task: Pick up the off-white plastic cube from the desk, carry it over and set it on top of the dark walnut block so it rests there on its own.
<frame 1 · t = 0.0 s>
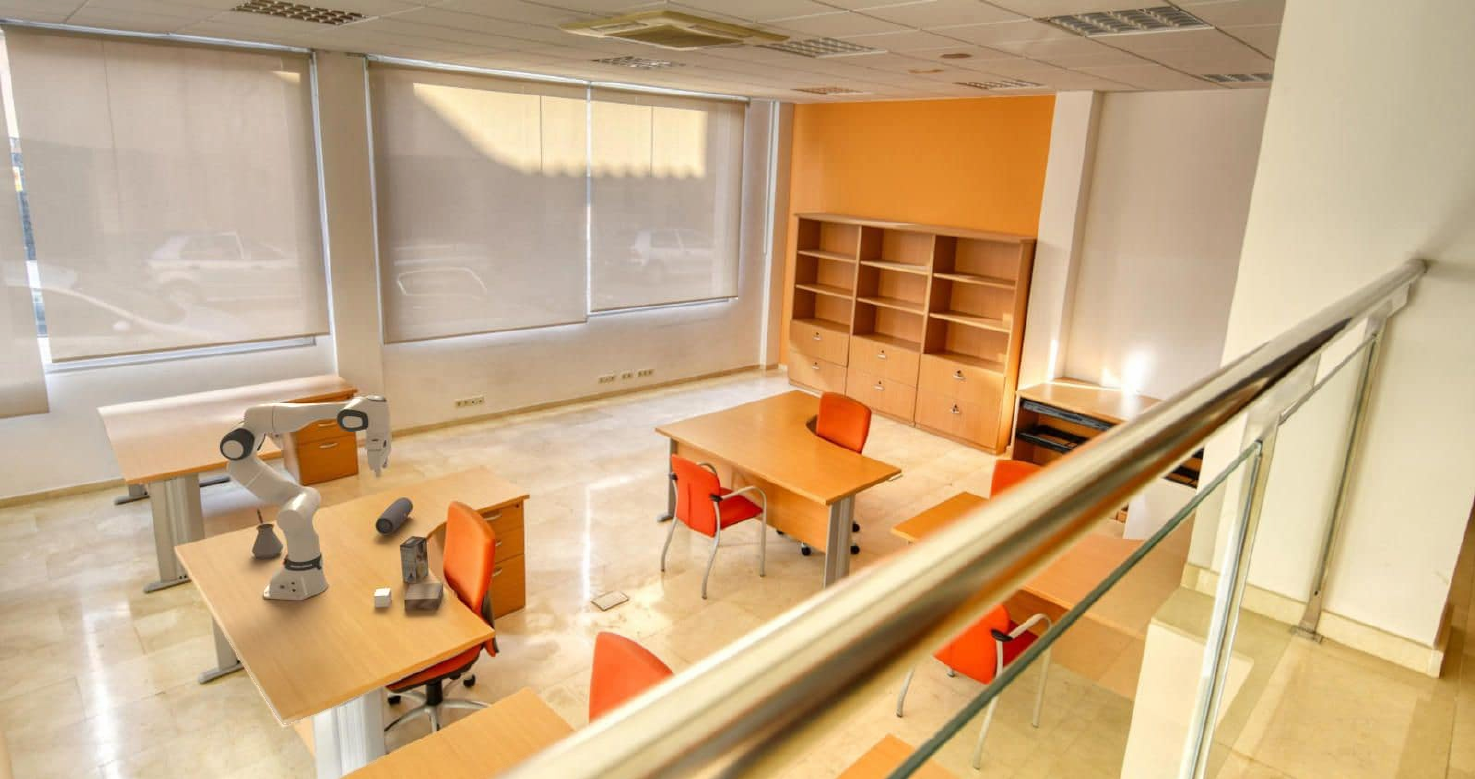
hand: (381, 472, 331), 48 cm above the table, tool pointing down, fingers open, 8 cm apart
bluetooth speaker: (395, 526, 395), on the table
white cube: (383, 603, 332), on the table
walnut block: (424, 602, 334), on the table
coffee box: (415, 577, 352), on the table
coffee pot: (266, 550, 369), on the table
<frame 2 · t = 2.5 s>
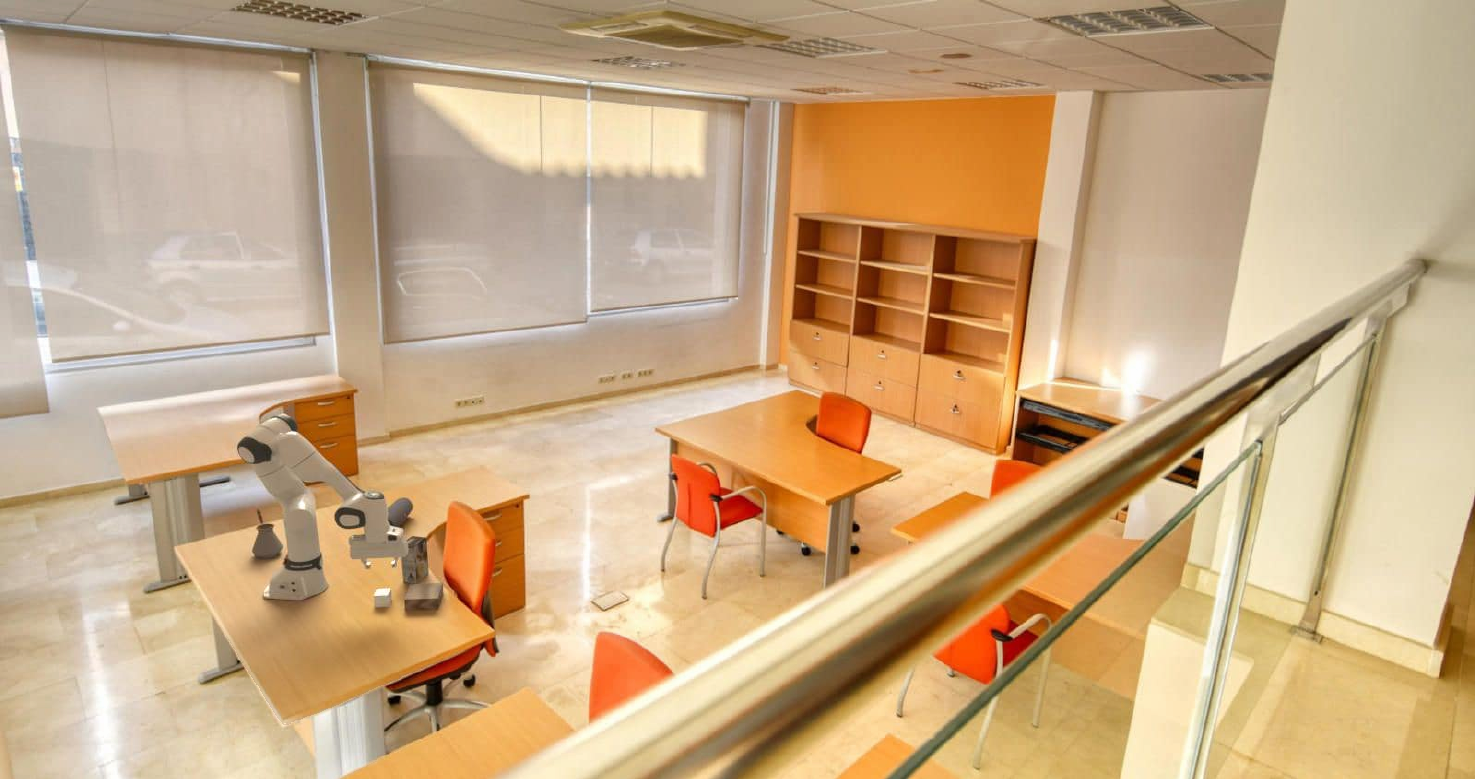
hand: (381, 567, 327), 15 cm above the table, tool pointing down, fingers open, 8 cm apart
nothing on the table moved.
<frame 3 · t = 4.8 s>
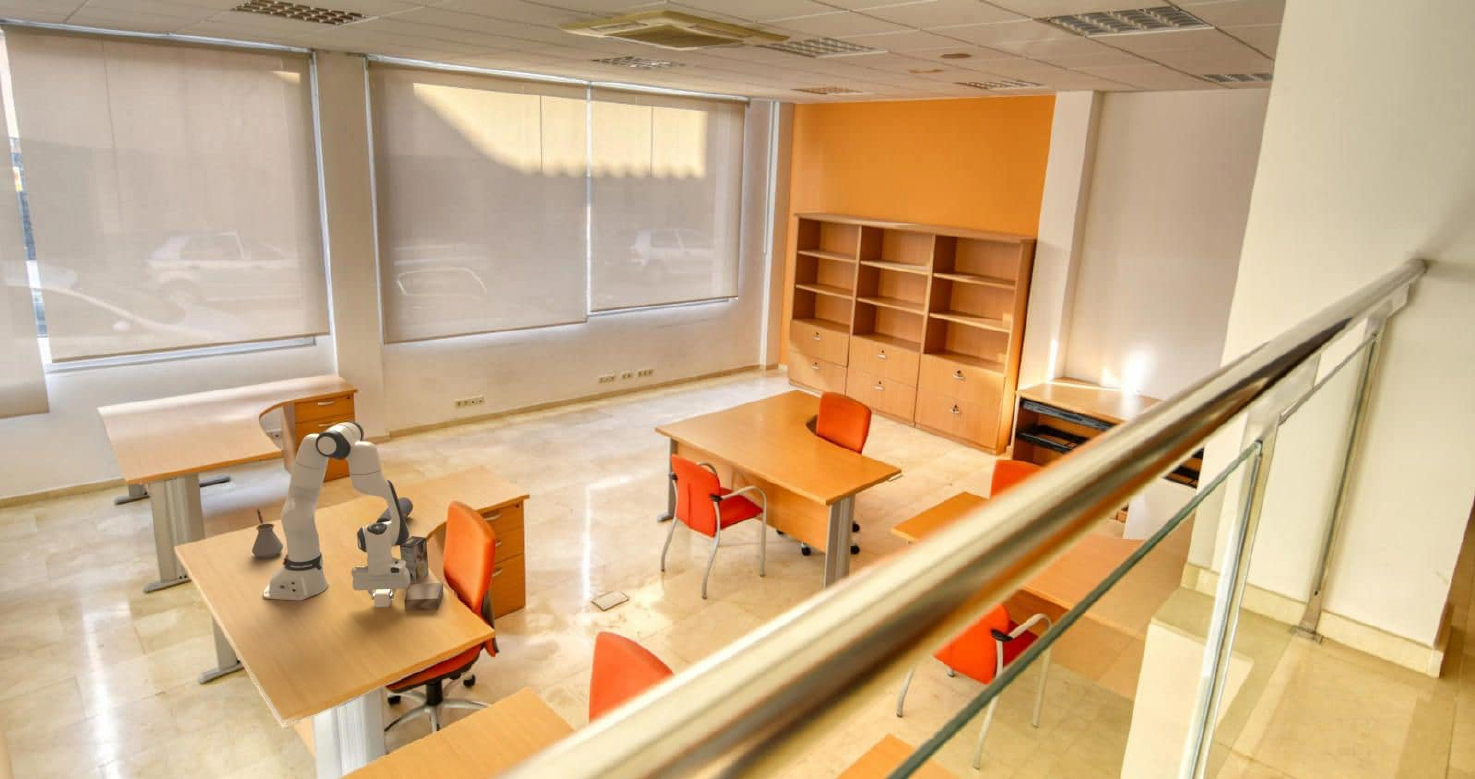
hand: (383, 598, 331), 2 cm above the table, tool pointing down, fingers closed on white cube, 5 cm apart
white cube: (383, 603, 332), on the table, touching gripper
everything else where it was.
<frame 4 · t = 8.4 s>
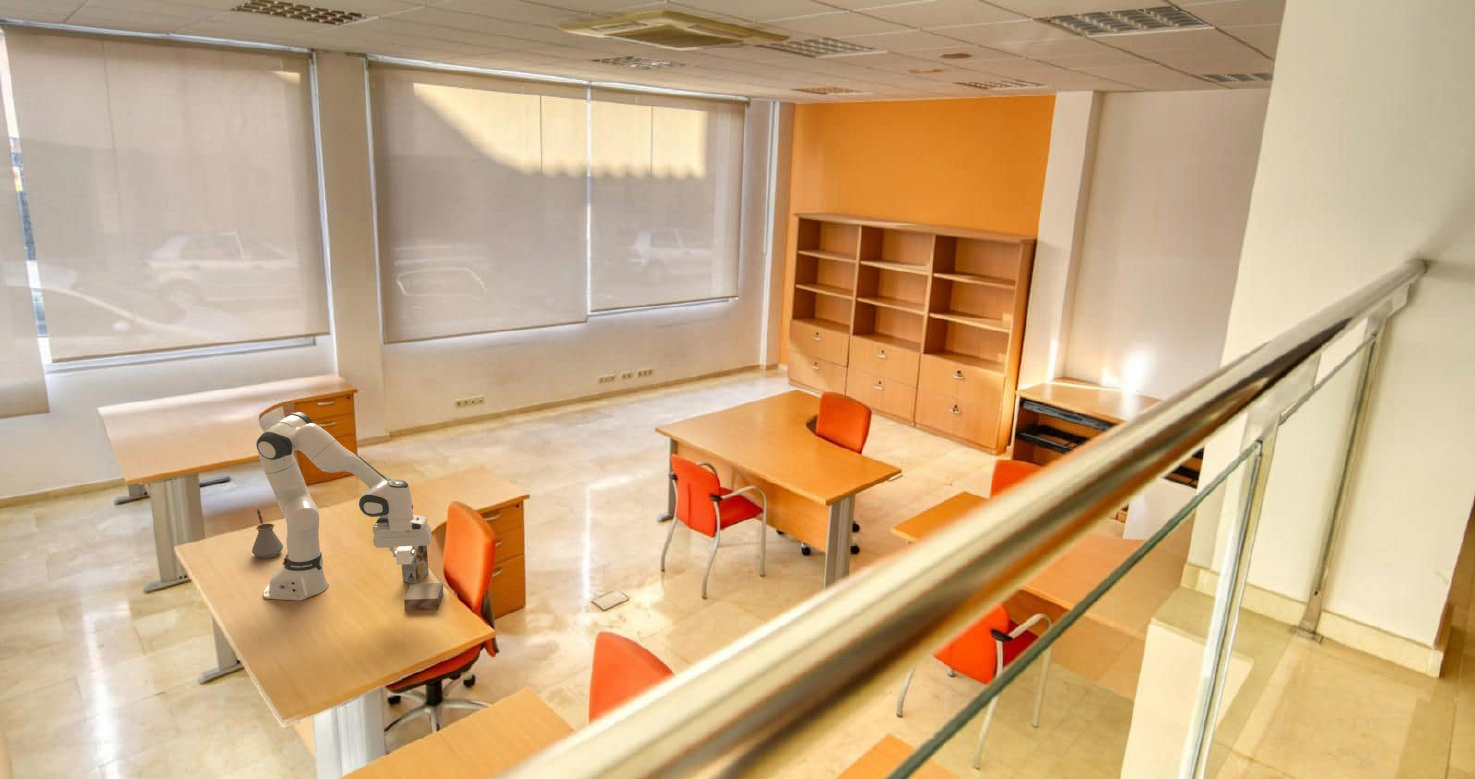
hand: (405, 555, 327), 20 cm above the table, tool pointing down, fingers closed on white cube, 5 cm apart
white cube: (405, 561, 327), point 18 cm above the table, touching gripper
everything else where it was.
when the fingers open (9 cm above the table, at t = 11.8 s): white cube drops 2 cm, resting on walnut block.
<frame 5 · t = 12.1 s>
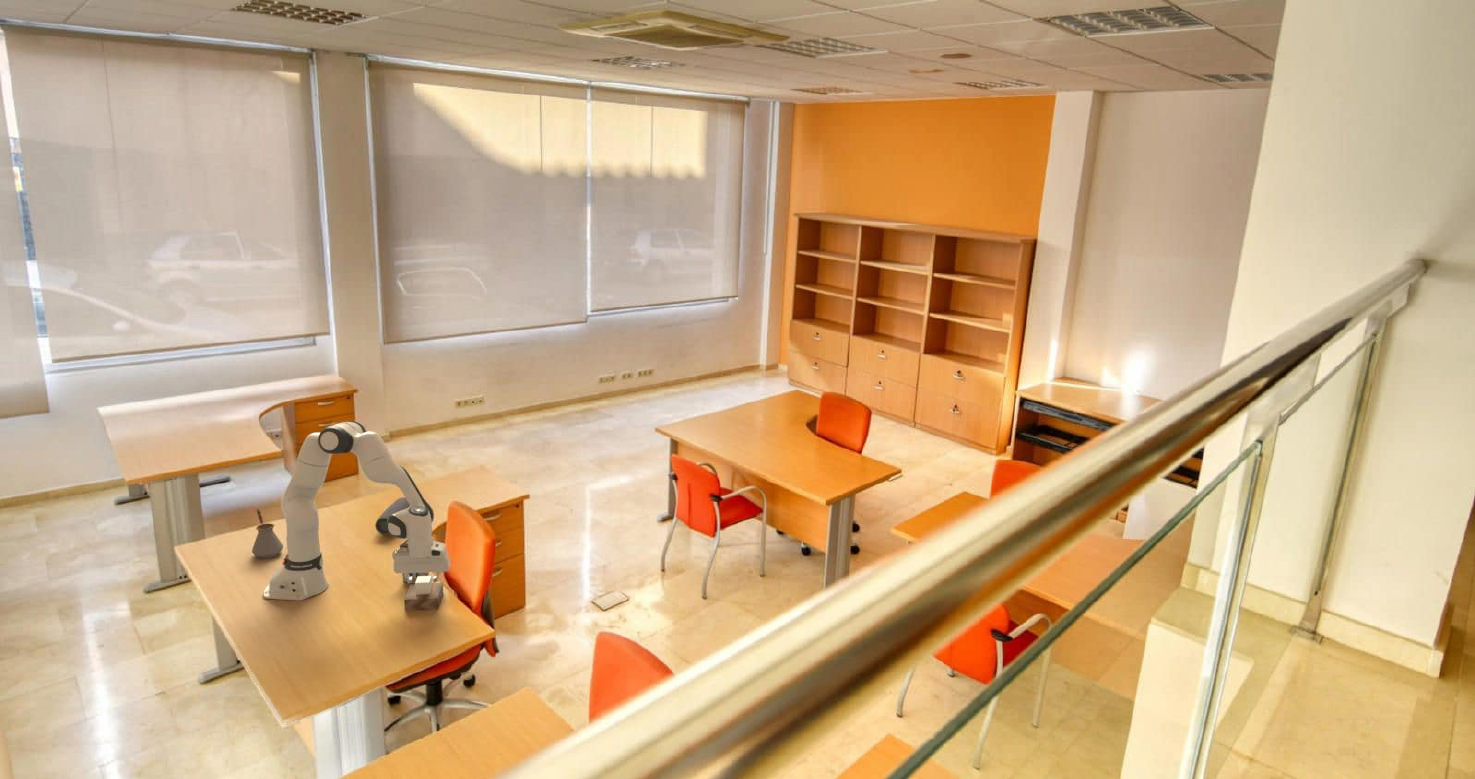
hand: (423, 581, 332), 9 cm above the table, tool pointing down, fingers open, 8 cm apart
white cube: (424, 591, 333), point 5 cm above the table, touching walnut block
walnut block: (424, 602, 334), on the table, touching white cube
everything else where it was.
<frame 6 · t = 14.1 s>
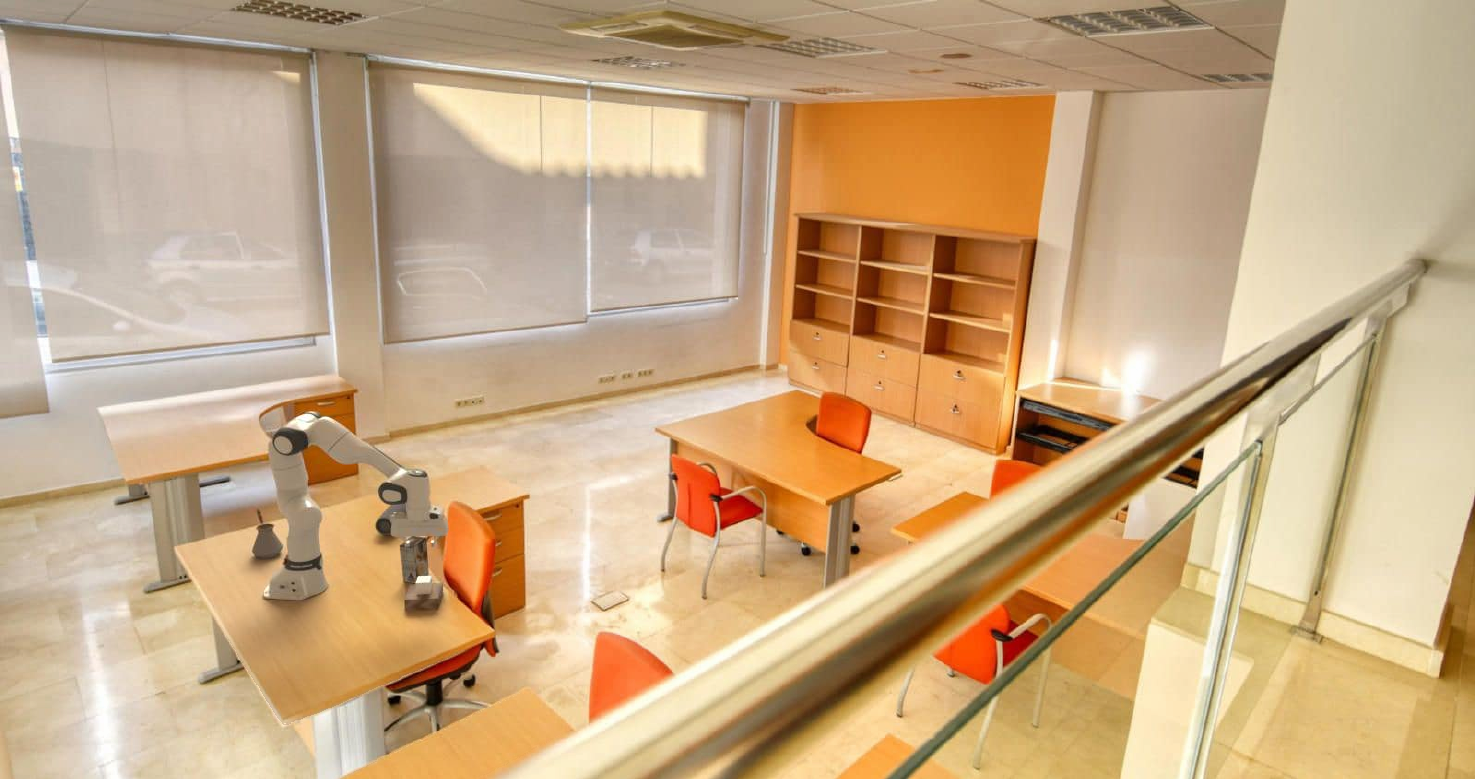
hand: (420, 546, 327), 24 cm above the table, tool pointing down, fingers open, 8 cm apart
nothing on the table moved.
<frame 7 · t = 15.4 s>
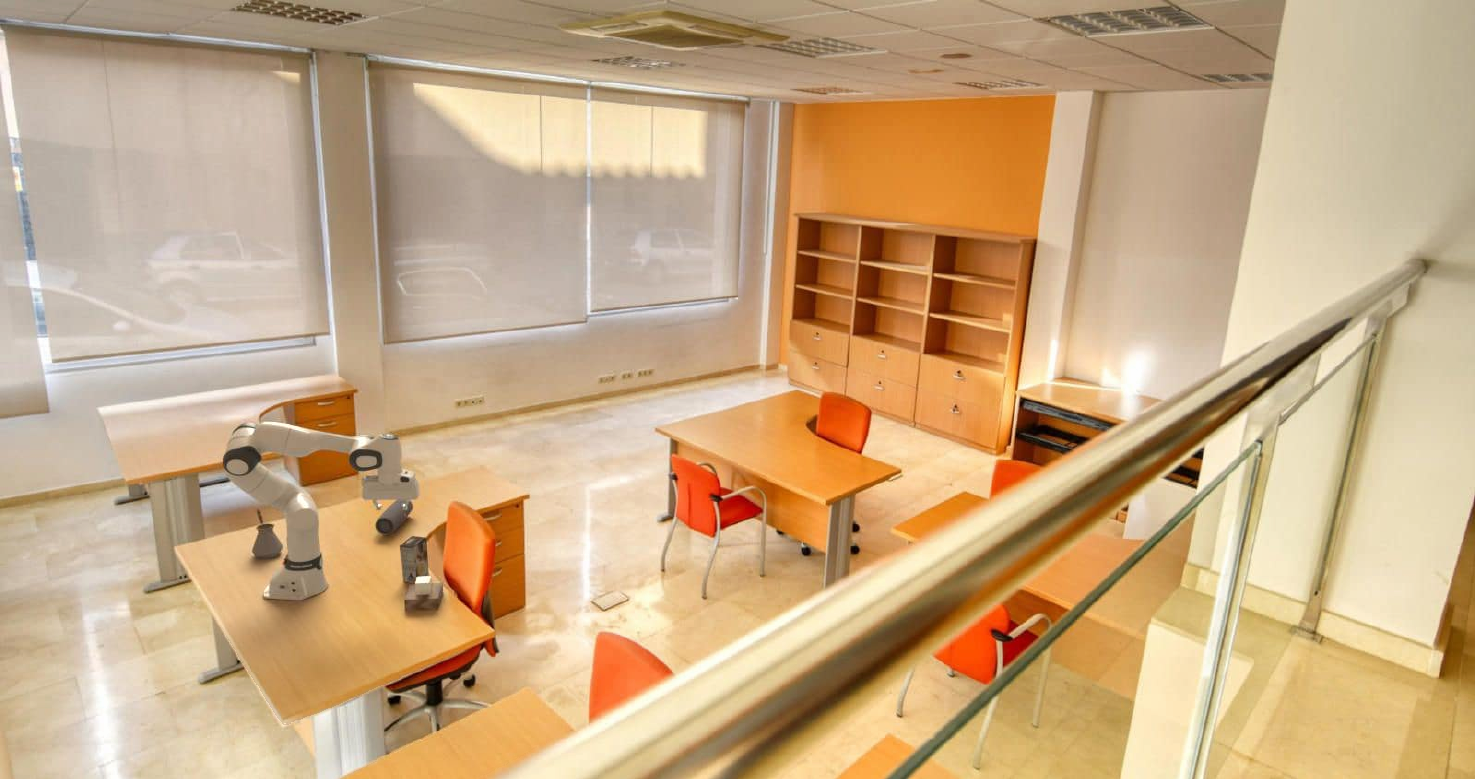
hand: (391, 509, 332), 34 cm above the table, tool pointing down, fingers open, 8 cm apart
nothing on the table moved.
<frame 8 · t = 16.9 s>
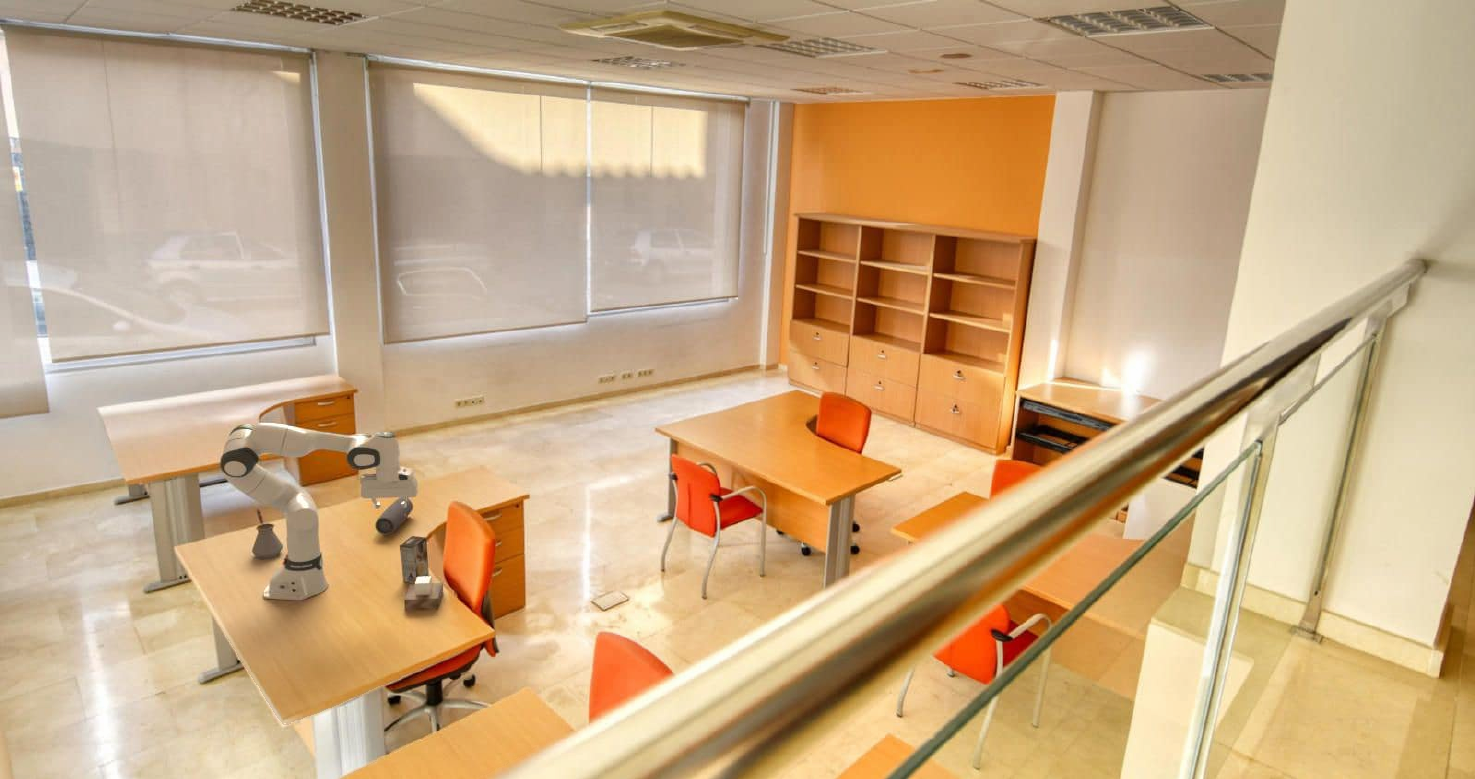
hand: (391, 507, 332), 35 cm above the table, tool pointing down, fingers open, 8 cm apart
nothing on the table moved.
at the end: white cube inside the target area on the walnut block (0.3 cm from its centre), point 5.0 cm above the walnut block's base; white cube tilted 0°; the gripper is holding nothing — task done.
